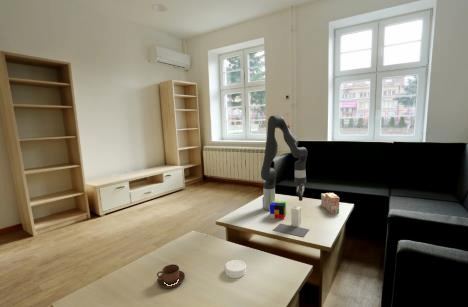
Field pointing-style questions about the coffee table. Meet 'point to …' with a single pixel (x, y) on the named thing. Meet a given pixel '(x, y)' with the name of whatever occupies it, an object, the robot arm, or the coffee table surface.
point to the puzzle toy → (278, 209)
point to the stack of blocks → (330, 202)
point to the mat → (291, 230)
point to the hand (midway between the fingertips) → (300, 200)
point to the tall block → (295, 216)
